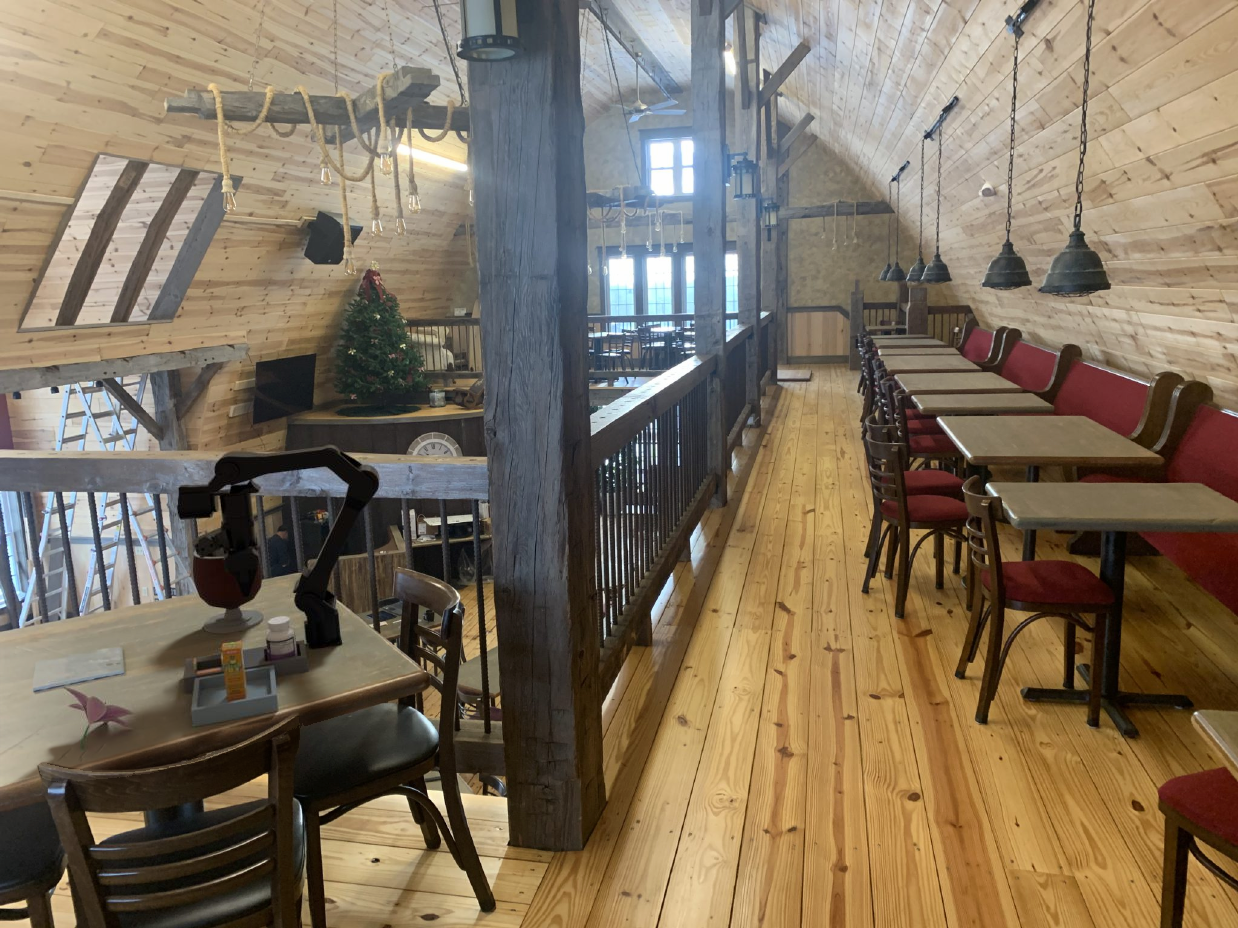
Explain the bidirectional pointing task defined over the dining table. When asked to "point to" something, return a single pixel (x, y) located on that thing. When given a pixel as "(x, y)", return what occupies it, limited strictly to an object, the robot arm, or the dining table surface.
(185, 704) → the dining table surface
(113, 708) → the lily
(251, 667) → the block
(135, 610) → the dining table surface
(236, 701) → the tray
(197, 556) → the mate gourd
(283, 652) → the pill bottle
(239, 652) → the supplement box
